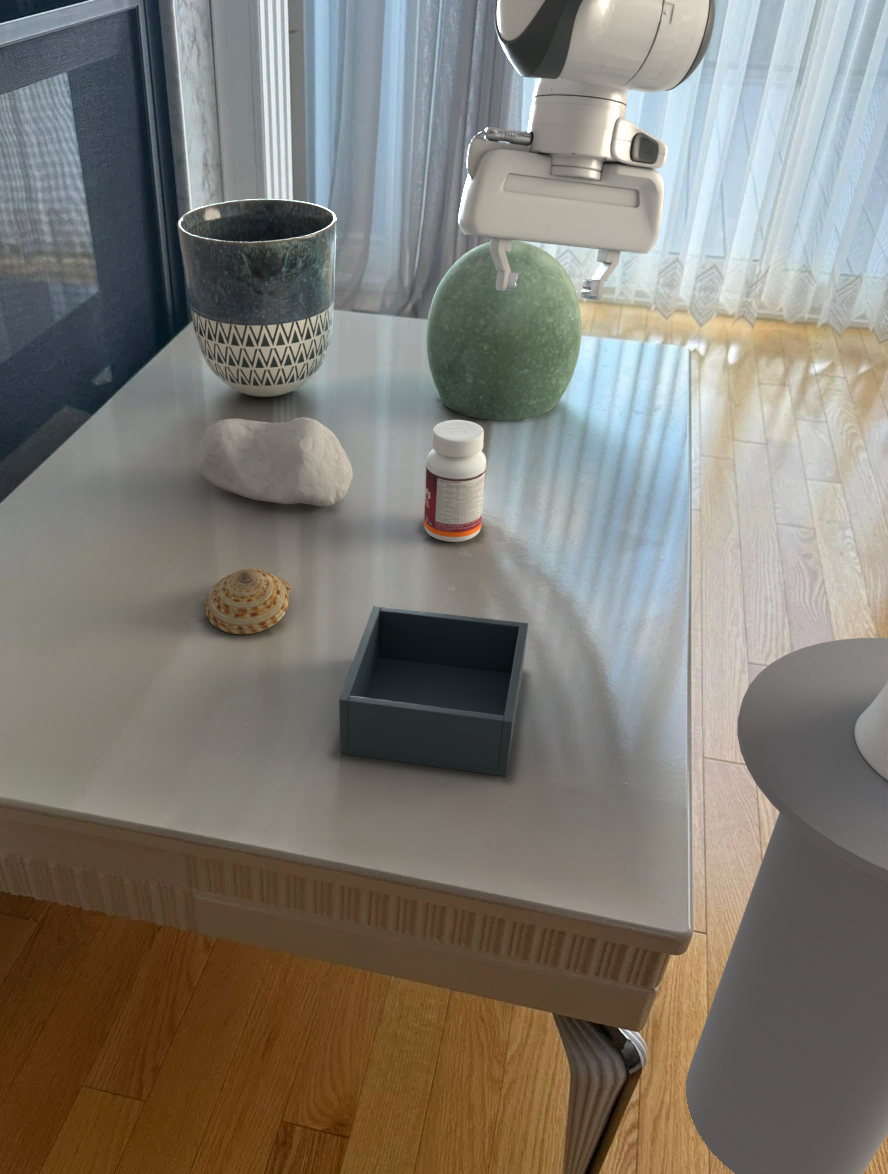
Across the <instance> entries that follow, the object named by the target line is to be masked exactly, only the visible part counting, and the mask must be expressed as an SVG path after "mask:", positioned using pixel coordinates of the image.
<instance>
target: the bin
mask: <svg viewBox="0 0 888 1174" xmlns="http://www.w3.org/2000/svg"><path fill="white" fill-rule="evenodd" d="M528 628H529V623H528V622H519V621H511V620H502V619H493V618H485V617H475V616H469V615H468V616H466V615H457V614H449V613H440V612H431V611H423V610H415V609H414V610H413V609H406V608H397V607H396V608H395V607H387V606H378V605H373V607H372V609H371V612H370V615H369V617H368V619H367V623H366V625H365V628H364V631H363V634H362V636H361V638H360V641H359V644H358V647H357V650H356V653H355V656H354V658H353V661H352V663H351V667H350V670H349V671H348V674H347V676H346V679H345V682H344V685H343V689H342V691H341V694H340V697H339V699H338V707H339V709H338V711H339V742H340V743H339V747H340V748H339V750H340V751H339V752H340V754H341V755H348V756H356V757H363V758H370V759H377V760H383V761H391V762H398V763H399V762H400V763H407V764H412V765H413V764H414V765H421V766H427V767H434V768H435V767H436V768H442V769H449V770H456V771H464V772H471V773H478V774H486V775H493V776H500V777H507V775H508V769H509V762H510V755H511V750H512V749H511V748H512V744H513V743H512V742H513V737H514V729H515V725H516V718H517V717H516V716H517V710H518V705H519V699H520V692H521V686H522V681H523V680H522V678H523V673H524V672H523V671H524V663H525V655H526V646H527V638H528Z"/></svg>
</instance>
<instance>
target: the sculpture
mask: <svg viewBox="0 0 888 1174" xmlns="http://www.w3.org/2000/svg"><path fill="white" fill-rule="evenodd" d="M490 244H491V241H488V242H485V243H483V244H480V245H478V246H476V247H474V248H472V249H470V250H469V251H467V252H466V253H464V254H462V256H460V257H459V258H458V259H457V260H456V261H455V262H454V263H453V264H452V266H451V267H450V268H449V269H448V270H447V271H446V273H445V274H444V276H443V277H442V278H441V281H440V282H439V284H438V286H437V288H436V290H435V292H434V294H433V297H432V300H431V304H430V306H429V307H430V308H429V310H428V315H427V322H426V334H425V343H426V356H427V362H428V363H427V364H428V367H429V372H430V376H431V378H432V381H433V384H434V387H435V388H436V390H437V392H438V395H439V397H440V399H441V401H442V403H443V404H444V406H446V407H447V408H448V409H450V411H453V412H455V413H458V414H461V415H464V416H468V417H471V418H476V419H482V420H490V421H491V420H493V421H494V420H495V421H511V420H525V419H530V418H535V417H539V416H543V415H545V414H547V413H548V412H550V411H551V410H553V409H554V408H555V406H556V405H558V403H559V402H560V400H561V398H563V396H564V394H565V392H566V391H567V389H568V387H569V385H570V383H571V381H572V378H573V376H574V373H575V370H576V367H577V364H578V360H579V355H580V350H581V345H582V344H581V343H582V331H583V327H582V325H583V323H582V314H581V307H580V303H579V297H578V294H577V291H576V290H577V289H576V288H575V285H574V282H573V281H572V278H571V277H570V275H569V274H568V272H567V270H566V269H565V268H564V266H563V265H562V264H561V263H560V262H559V260H558V259H556V258H555V257H554V256H553V255H551V254H550V253H549V252H547V251H546V250H544V249H542V248H541V247H539V246H537V245H534V244H532V243H531V242H528V241H519V240H513V241H512V247H511V251H510V252H505V254H506V257H507V260H508V264H509V267H510V270H511V272H516V273H518V277H517V281H516V282H515V283H516V289H515V291H514V292H511V291H500V290H496V280H497V272H498V270H496V267H495V264H494V261H493V259H492V256H491V253H490Z"/></svg>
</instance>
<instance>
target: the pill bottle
mask: <svg viewBox="0 0 888 1174" xmlns="http://www.w3.org/2000/svg"><path fill="white" fill-rule="evenodd" d="M484 435H485V430H484V428H483V427H482V426H481V425H480V424H478V423H476V422H473V421H469V420H465V419H464V420H463V419H451V420H444V421H441V422H439V423H436V425H434V427H433V428H432V440H431V447H432V449H431V450H430V451H429V453H428V455H427V457H426V462H425V490H424V491H425V492H424V512H423V528H424V530H425V532H426V533H427V534H428V535H429V536H431V537H432V538H434V539H436V540H438V541H443V542H449V543H452V542H453V543H461V542H466V541H468V540H472V539H473V538H475V537H476V536H477V535H479V533H480V531H481V529H482V522H483V521H482V520H483V510H484V509H483V507H484V497H485V496H484V494H485V485H486V472H487V457H486V455H485V453H484V452H483V449H484V437H485V436H484Z"/></svg>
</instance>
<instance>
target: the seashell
mask: <svg viewBox="0 0 888 1174" xmlns="http://www.w3.org/2000/svg"><path fill="white" fill-rule="evenodd" d="M291 591H292V584H291V583H290V581H288V580H287V579H285V578H284V577H281V576H279V575H276V574H272V573H271V572H269V571H266V570H264V569H261V568H242V569H238V570H235V571H233V572H232V573H230V574H227V575H226V576H224V577H222V578H221V579H219V580H218V581H217V582H215V584H214V585H213V586H212V587H211V589H210V590H209V592H208V594H207V598H206V600H205V605H204V607H205V609H204V611H205V615H206V616H205V617H206V618H207V619H208V621H209V622H210V624H211V625H212V626H214V627H215V628H216V629H218V630H220V631H223V632H225V633H229V634H234V635H251V634H256V633H259V632H262V631H265V630H267V629H269V628H271V627H273V626H275V625H276V624H277V623H278V622H279V621H281V620H282V619H283V617H284V616H285V615H286V613H287V609H288V606H289V601H290V600H289V599H290V598H289V597H290V595H289V594H290V593H291Z"/></svg>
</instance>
